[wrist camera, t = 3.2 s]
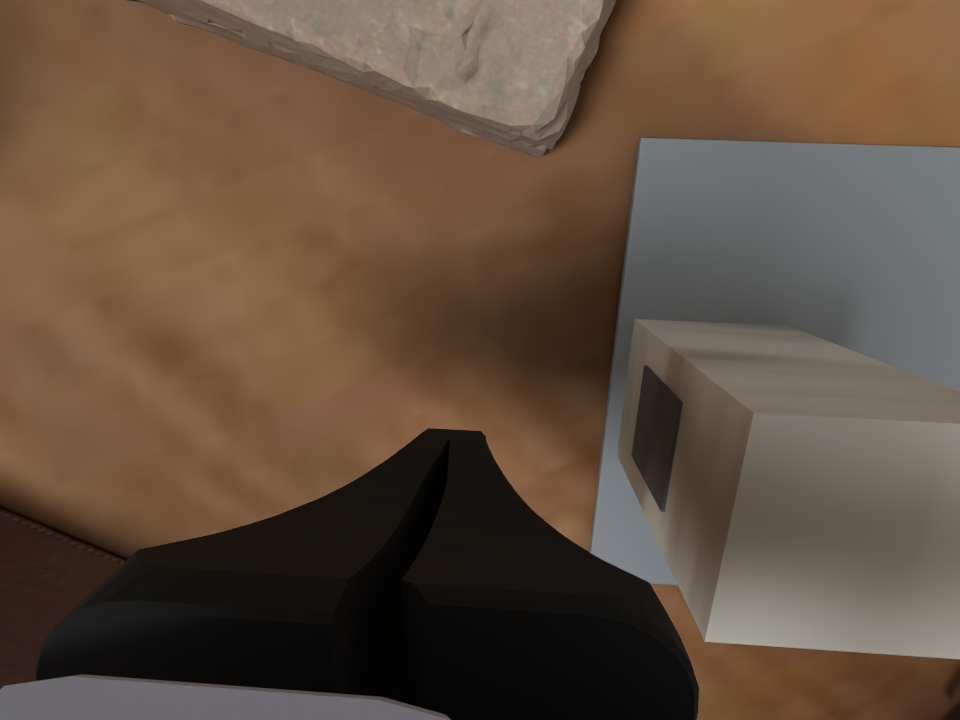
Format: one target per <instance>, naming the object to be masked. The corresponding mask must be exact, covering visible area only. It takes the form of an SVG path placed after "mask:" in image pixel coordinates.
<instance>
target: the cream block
mask: <svg viewBox="0 0 960 720" xmlns="http://www.w3.org/2000/svg"><path fill="white" fill-rule="evenodd" d="M617 456H618V458H619V460H620V463H621V465H622V467H623V469H624V471H625V473H626V475H627V478H628V480H629V482H630V484H631V486H632V488H633V490H634V492H635V495H636V497H637V499H638V501H639V503H640V505H641V507H642V509H643V512H644V514H645V516H646V518H647V520H648V522H649V524H650V526H651V529H652V531H653V533H654V535H655V537H656V539H657V541H658V544H659V546H660V548H661V550H662V552H663V554H664V556H665V558H666V561H667V563H668V565H669V567H670V569H671V571H672V573H673V575H674V578H675V580H676V582H677V584H678V586H679V588H680V590H681V592H682V595H683V597H684V599H685V601H686V603H687V605H688V607H689V610H690V612H691V614H692V616H693V618H694V620H695V622H696V624H697V627H698V629H699V631H700V633H701V635H702V637H703V639H704V641H705V642H717V643H731V644H746V645H760V646H775V647H789V648H803V649H818V650H832V651H846V652H861V653H875V654H890V655H904V656H918V657H933V658H947V659H960V392H959V391H957V390H954V389H951V388H949V387H946V386H944V385H941V384H938V383H936V382H933V381H931V380H928V379H925V378H923V377H920V376H918V375H915V374H912V373H910V372H907V371H905V370H902V369H899V368H897V367H894V366H892V365H889V364H886V363H884V362H881V361H878V360H876V359H873V358H871V357H868V356H865V355H863V354H860V353H858V352H855V351H852V350H850V349H847V348H845V347H842V346H839V345H837V344H834V343H832V342H829V341H826V340H824V339H821V338H819V337H816V336H813V335H811V334H808V333H806V332H803V331H800V330H798V329H795V328H793V327H790V326H781V325H758V324H736V323H714V322H691V321H669V320H647V319H634V326H633V334H632V341H631V349H630V357H629V364H628V372H627V380H626V387H625V395H624V403H623V410H622V418H621V426H620V433H619V441H618V449H617Z"/></svg>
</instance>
